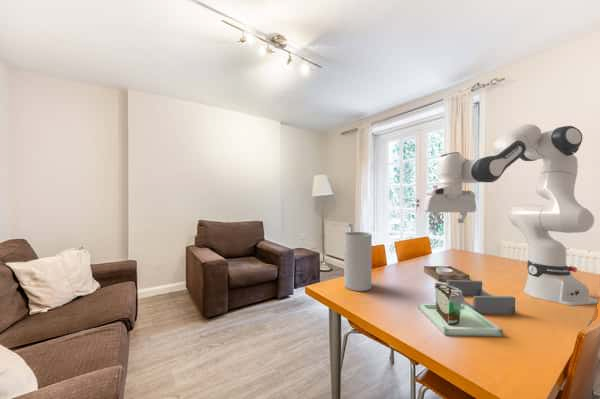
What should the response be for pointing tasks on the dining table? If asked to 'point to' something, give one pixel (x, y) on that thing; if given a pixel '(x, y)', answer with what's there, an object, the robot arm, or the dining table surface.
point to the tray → (462, 322)
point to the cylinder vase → (358, 261)
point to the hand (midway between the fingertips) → (449, 223)
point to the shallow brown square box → (444, 277)
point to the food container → (448, 303)
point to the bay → (484, 298)
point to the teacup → (443, 270)
